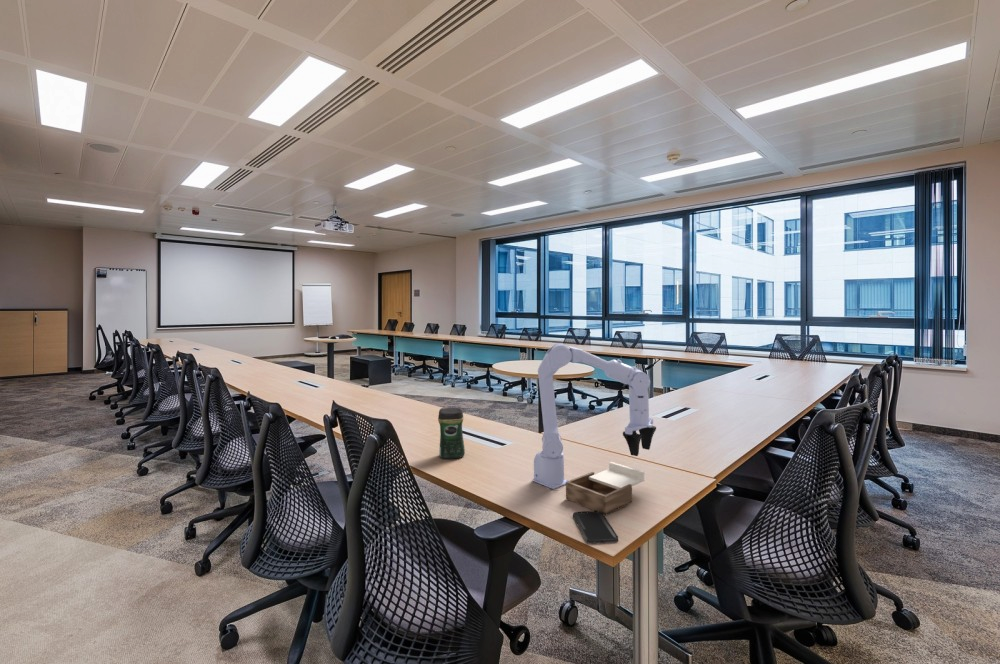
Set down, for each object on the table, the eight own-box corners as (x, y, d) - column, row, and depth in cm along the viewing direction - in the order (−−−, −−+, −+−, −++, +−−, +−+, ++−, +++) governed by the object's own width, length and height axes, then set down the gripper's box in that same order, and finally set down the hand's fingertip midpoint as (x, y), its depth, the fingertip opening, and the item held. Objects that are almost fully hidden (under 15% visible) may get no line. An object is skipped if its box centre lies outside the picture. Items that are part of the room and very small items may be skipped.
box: (566, 498, 129) (565, 481, 128) (592, 487, 136) (592, 471, 136) (605, 515, 118) (605, 496, 118) (631, 502, 125) (631, 484, 125)
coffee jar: (464, 452, 173) (463, 405, 172) (464, 459, 165) (463, 409, 165) (439, 453, 173) (438, 406, 172) (438, 460, 165) (437, 410, 164)
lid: (588, 479, 133) (588, 470, 133) (611, 470, 140) (611, 461, 140) (622, 491, 124) (622, 481, 124) (644, 480, 131) (644, 471, 131)
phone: (600, 510, 119) (619, 539, 104) (600, 514, 119) (619, 543, 104) (571, 511, 119) (586, 540, 104) (571, 516, 119) (586, 545, 104)
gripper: (639, 415, 130) (641, 460, 130) (661, 406, 140) (663, 448, 141) (618, 412, 135) (619, 456, 135) (640, 403, 145) (642, 444, 146)
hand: (640, 452), depth 138 cm, fingers open, 7 cm apart
